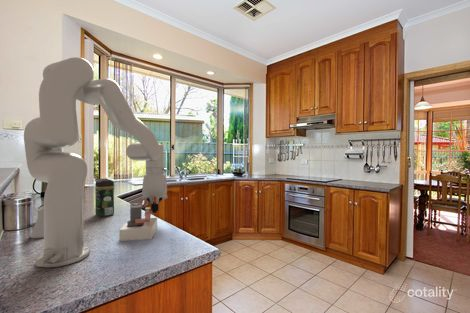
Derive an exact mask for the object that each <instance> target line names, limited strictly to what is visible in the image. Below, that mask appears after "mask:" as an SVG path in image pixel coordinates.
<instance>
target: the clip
mask: <svg viewBox="0 0 470 313" xmlns="http://www.w3.org/2000/svg"><path fill="white" fill-rule="evenodd" d="M145 216H146V218H145ZM151 216H152V211H151V206H146V207H145V209H144V218H143V217H141V218H142V219H135V223H144V222H150V218H151Z"/></svg>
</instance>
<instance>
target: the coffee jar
mask: <svg viewBox="0 0 470 313" xmlns="http://www.w3.org/2000/svg"><path fill="white" fill-rule="evenodd" d="M94 190H95V191H94V192H95V198H94V199H95V206H94V207H95V215H96V216H97V217H99V218H101V217H110V216H113V215H114V214H115V181H114V180H112V179H109V178H107V177H105V178H98V179H97V180H95V189H94Z"/></svg>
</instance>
